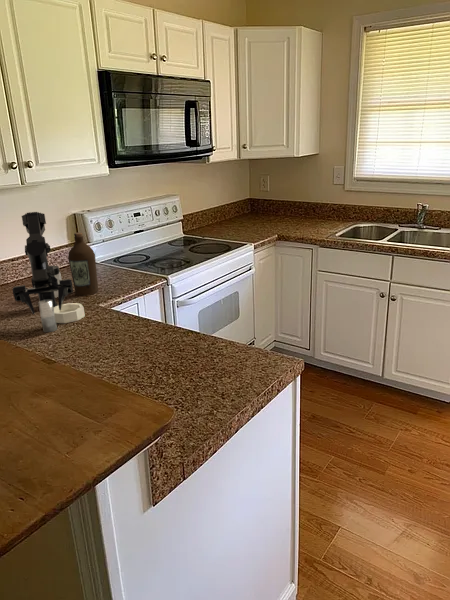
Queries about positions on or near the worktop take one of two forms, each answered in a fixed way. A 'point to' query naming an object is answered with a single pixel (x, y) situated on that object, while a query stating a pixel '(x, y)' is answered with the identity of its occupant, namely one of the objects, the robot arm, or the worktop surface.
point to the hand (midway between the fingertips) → (47, 311)
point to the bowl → (69, 312)
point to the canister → (47, 315)
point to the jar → (58, 277)
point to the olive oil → (83, 267)
